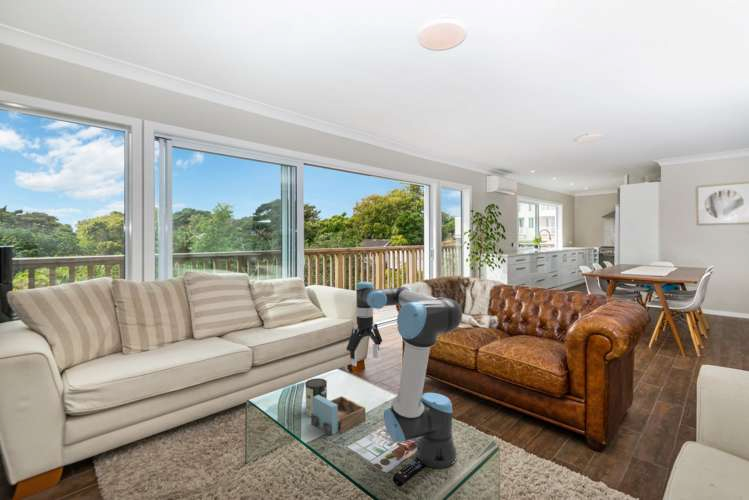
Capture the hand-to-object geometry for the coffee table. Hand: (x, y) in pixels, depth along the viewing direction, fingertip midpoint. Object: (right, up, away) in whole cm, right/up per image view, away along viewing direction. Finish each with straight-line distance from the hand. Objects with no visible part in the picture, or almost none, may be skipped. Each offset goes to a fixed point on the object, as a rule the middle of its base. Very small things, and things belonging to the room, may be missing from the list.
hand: (365, 361), depth 167 cm
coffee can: (-24, -27, +9) cm, 37 cm away
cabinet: (-13, -27, -2) cm, 30 cm away
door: (-17, -27, -6) cm, 33 cm away
